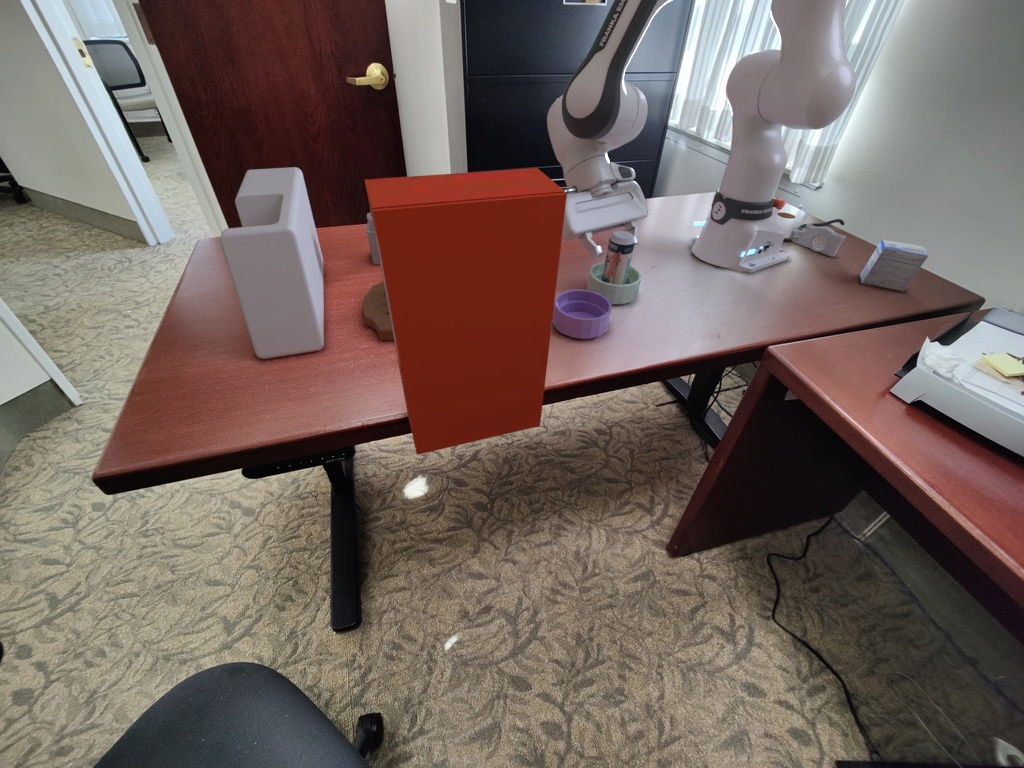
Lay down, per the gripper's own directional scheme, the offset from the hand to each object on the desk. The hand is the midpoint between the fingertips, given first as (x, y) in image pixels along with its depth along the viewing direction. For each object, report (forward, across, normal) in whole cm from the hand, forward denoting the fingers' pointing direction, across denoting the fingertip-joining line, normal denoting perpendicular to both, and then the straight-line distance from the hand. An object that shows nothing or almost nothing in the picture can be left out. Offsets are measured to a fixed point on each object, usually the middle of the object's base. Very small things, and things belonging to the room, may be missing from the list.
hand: (616, 251), depth 85 cm
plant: (-3, -37, +16) cm, 40 cm away
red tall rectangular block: (+19, -42, -6) cm, 46 cm away
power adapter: (-20, -35, +33) cm, 52 cm away
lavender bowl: (+11, -13, +2) cm, 17 cm away
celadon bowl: (+7, 0, +6) cm, 9 cm away
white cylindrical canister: (+6, 0, +5) cm, 8 cm away
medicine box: (+26, +56, -13) cm, 63 cm away
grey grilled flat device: (+13, +60, 0) cm, 61 cm away
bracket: (-14, -55, +27) cm, 63 cm away
